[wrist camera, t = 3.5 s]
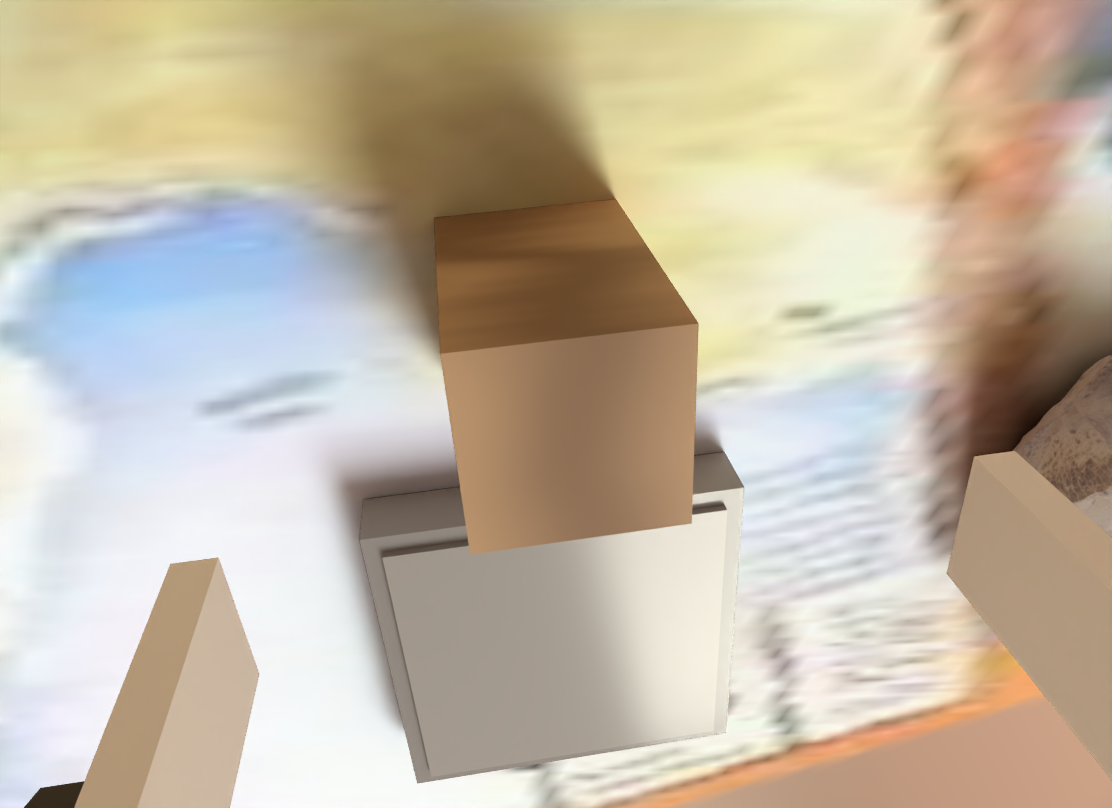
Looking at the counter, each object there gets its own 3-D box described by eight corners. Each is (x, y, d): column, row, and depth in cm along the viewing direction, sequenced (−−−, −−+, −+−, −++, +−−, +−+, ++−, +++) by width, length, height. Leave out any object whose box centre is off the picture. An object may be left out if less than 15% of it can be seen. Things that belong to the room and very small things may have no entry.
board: (417, 738, 33) (417, 789, 31) (362, 499, 27) (358, 545, 25) (710, 691, 34) (728, 738, 32) (724, 452, 28) (746, 492, 26)
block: (456, 378, 25) (470, 554, 18) (433, 217, 22) (440, 353, 16) (619, 358, 26) (691, 523, 19) (615, 198, 23) (698, 323, 16)
